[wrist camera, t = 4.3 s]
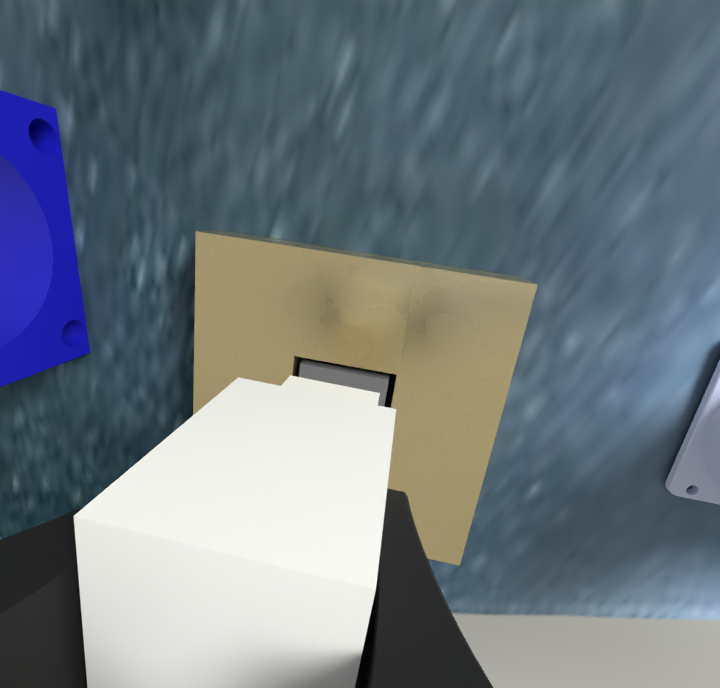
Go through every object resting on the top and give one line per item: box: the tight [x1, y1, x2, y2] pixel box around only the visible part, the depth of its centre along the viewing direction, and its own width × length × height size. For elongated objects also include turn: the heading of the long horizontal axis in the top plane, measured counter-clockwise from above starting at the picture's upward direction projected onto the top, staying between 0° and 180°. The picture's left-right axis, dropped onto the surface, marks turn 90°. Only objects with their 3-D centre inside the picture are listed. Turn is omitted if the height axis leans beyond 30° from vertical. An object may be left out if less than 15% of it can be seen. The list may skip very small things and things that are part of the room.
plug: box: [74, 375, 396, 688], centre depth 10 cm, size 4×5×8 cm
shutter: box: [299, 359, 390, 407], centre depth 18 cm, size 4×4×1 cm
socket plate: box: [193, 231, 537, 566], centre depth 19 cm, size 14×14×3 cm
